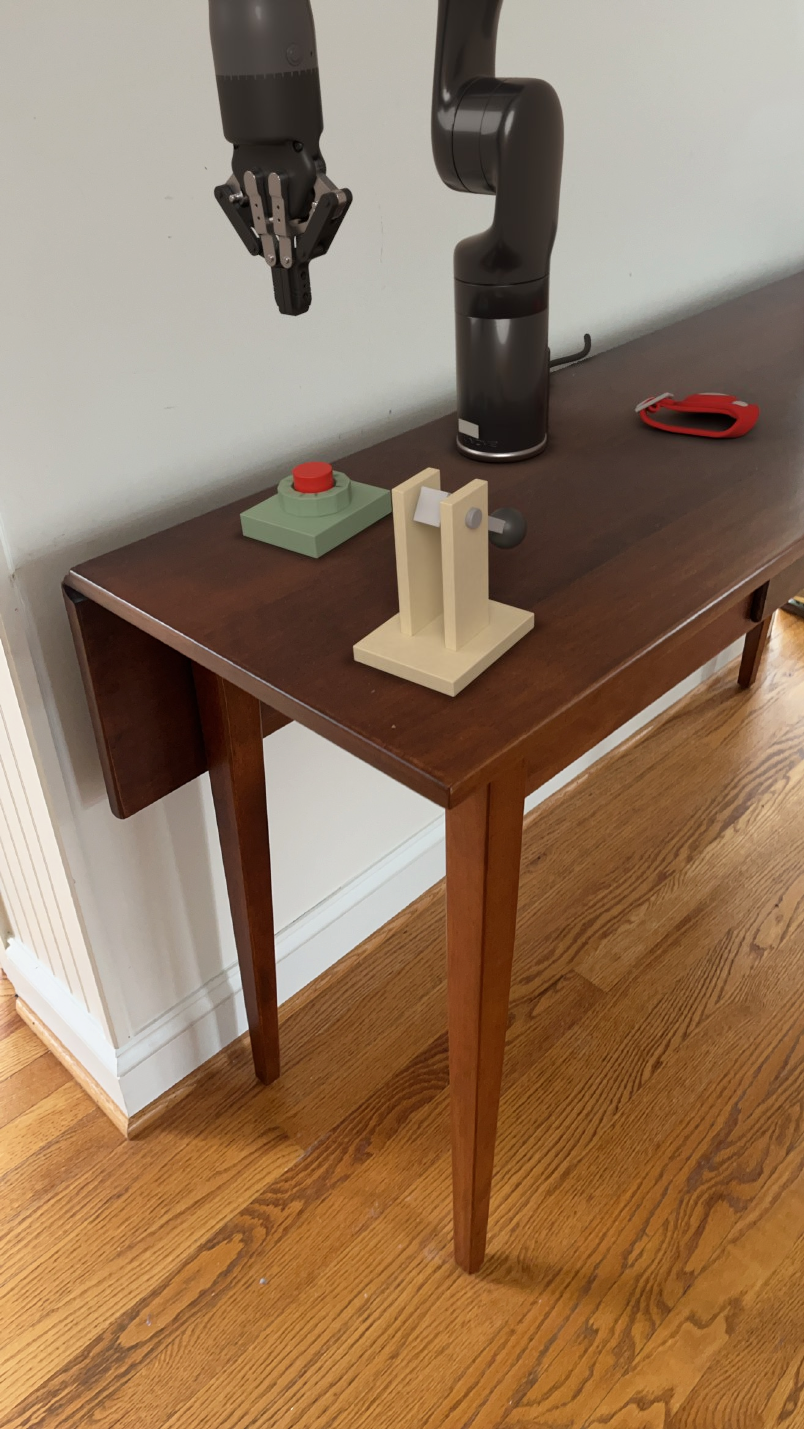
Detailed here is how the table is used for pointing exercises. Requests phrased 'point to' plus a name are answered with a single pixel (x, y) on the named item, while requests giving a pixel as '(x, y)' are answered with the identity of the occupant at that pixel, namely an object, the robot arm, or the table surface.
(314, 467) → the stop button
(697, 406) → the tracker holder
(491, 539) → the press lever
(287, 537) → the button block
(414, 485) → the lever bracket
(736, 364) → the table surface
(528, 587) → the table surface
